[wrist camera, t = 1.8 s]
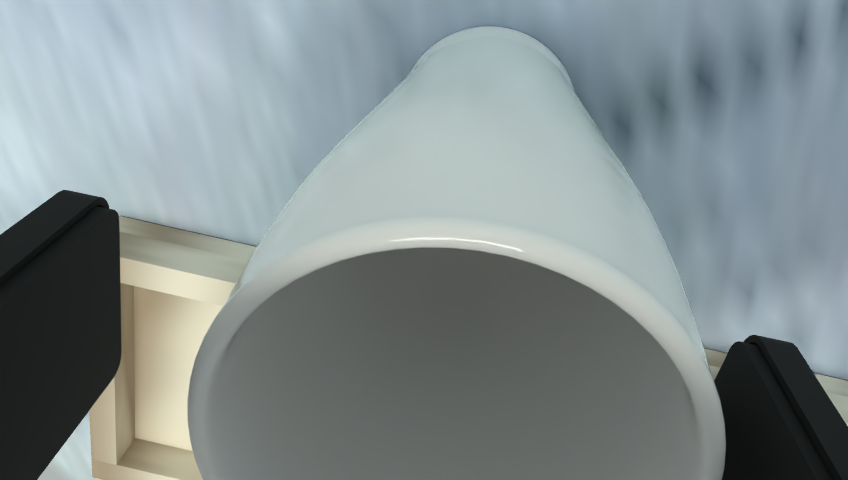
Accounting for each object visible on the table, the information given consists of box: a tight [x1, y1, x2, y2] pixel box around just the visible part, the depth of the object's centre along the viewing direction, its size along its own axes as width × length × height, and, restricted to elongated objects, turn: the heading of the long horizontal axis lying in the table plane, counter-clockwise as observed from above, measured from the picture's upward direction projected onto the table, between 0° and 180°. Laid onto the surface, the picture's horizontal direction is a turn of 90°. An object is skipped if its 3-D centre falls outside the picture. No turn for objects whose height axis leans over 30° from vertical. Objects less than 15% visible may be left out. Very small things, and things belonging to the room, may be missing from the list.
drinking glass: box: [187, 26, 726, 480], centre depth 15 cm, size 7×7×15 cm
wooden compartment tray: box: [89, 216, 848, 480], centre depth 26 cm, size 30×11×2 cm, turn 79°
